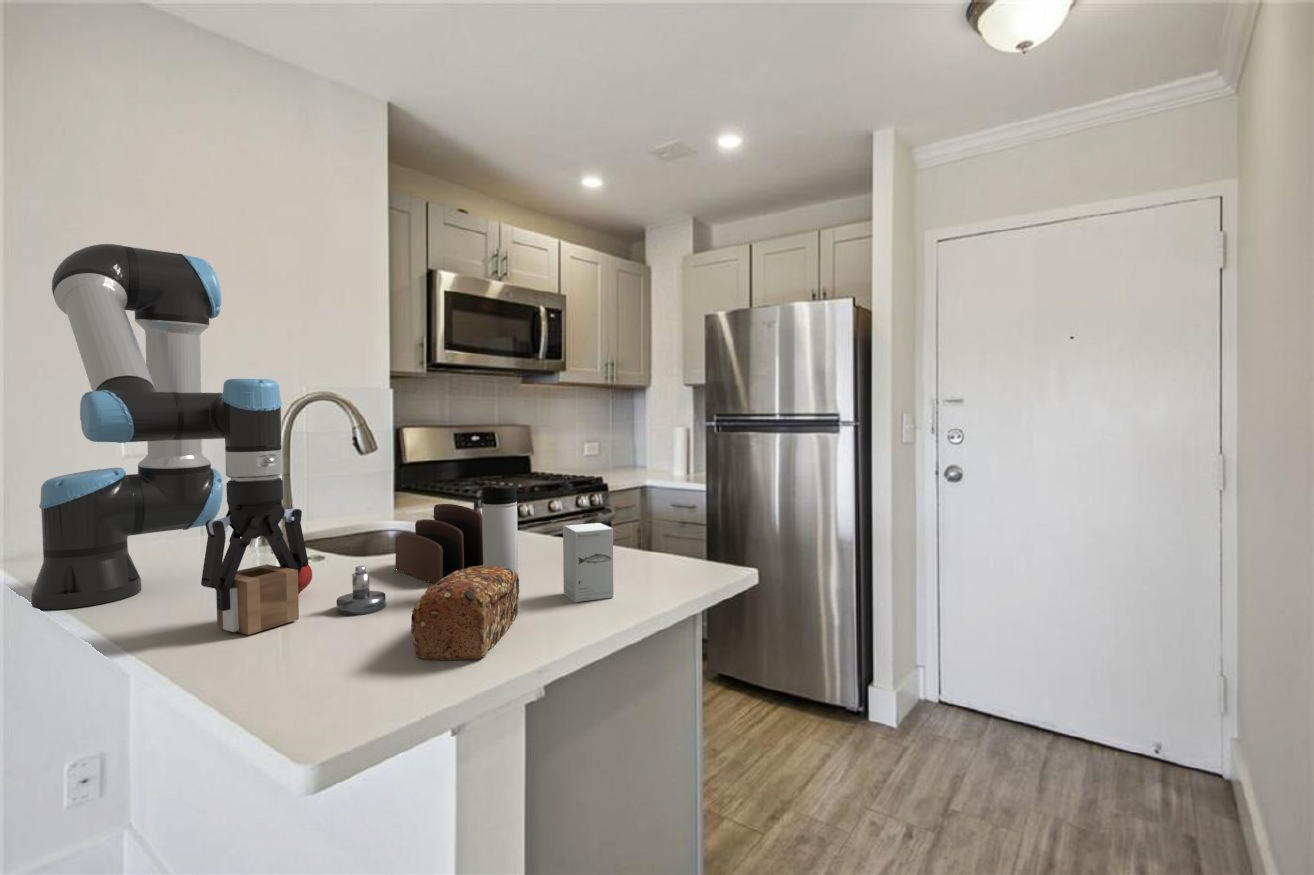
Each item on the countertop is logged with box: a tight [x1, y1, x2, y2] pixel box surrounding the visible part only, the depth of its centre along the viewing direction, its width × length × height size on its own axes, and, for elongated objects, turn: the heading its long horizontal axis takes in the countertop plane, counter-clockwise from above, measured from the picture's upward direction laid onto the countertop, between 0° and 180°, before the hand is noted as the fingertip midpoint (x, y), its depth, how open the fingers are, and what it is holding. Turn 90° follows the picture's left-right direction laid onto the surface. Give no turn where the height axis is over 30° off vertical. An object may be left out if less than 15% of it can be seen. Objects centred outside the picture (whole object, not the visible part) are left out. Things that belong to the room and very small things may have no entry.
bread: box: [410, 565, 520, 662], centre depth 95 cm, size 19×11×10 cm, turn 177°
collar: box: [216, 563, 300, 636], centre depth 102 cm, size 8×8×8 cm
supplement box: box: [562, 522, 615, 604], centre depth 116 cm, size 7×7×13 cm
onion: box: [279, 564, 313, 596], centre depth 118 cm, size 6×6×8 cm
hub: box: [335, 565, 387, 617], centre depth 110 cm, size 8×8×7 cm
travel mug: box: [481, 485, 519, 575], centre depth 119 cm, size 6×7×20 cm
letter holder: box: [394, 503, 483, 585], centre depth 134 cm, size 10×20×14 cm, turn 46°
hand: (259, 621), depth 102 cm, fingers closed on collar, 8 cm apart
